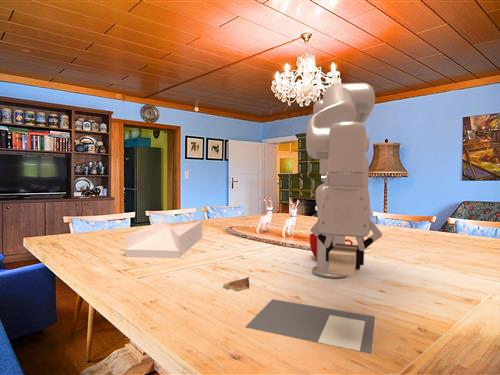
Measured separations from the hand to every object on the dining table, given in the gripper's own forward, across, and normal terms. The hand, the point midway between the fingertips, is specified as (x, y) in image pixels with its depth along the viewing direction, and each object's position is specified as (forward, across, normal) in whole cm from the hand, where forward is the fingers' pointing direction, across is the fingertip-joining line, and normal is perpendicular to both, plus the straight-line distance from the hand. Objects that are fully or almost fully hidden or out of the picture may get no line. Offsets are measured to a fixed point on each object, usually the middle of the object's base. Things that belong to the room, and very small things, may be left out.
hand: (344, 265), depth 70 cm
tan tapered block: (0, 0, 0) cm, 0 cm away
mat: (+15, -7, +2) cm, 17 cm away
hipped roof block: (+15, -88, +56) cm, 105 cm away
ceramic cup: (+15, -13, +62) cm, 65 cm away
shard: (+16, -34, +18) cm, 42 cm away
